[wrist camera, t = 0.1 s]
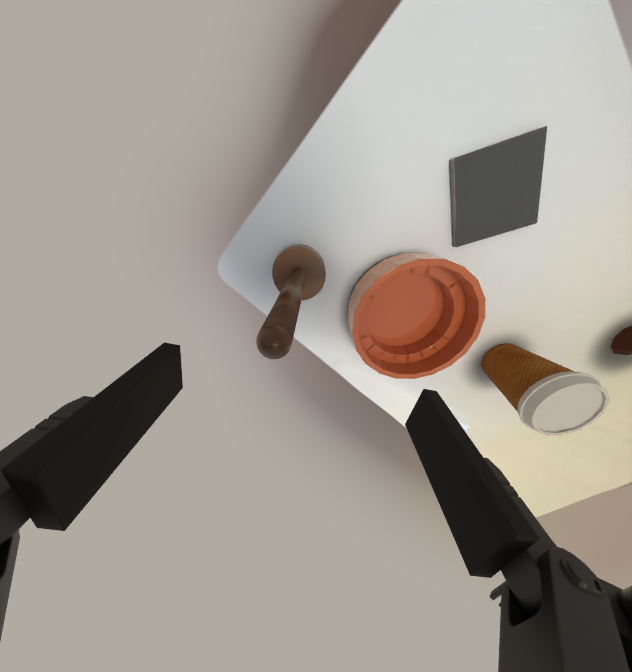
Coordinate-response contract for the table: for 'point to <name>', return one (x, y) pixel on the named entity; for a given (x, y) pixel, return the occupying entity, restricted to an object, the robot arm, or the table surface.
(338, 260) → the table surface
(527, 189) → the dark grey square tile
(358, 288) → the terracotta round bowl
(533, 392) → the disposable coffee cup
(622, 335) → the ice cream bowl
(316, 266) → the paper towel holder
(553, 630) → the robot arm
